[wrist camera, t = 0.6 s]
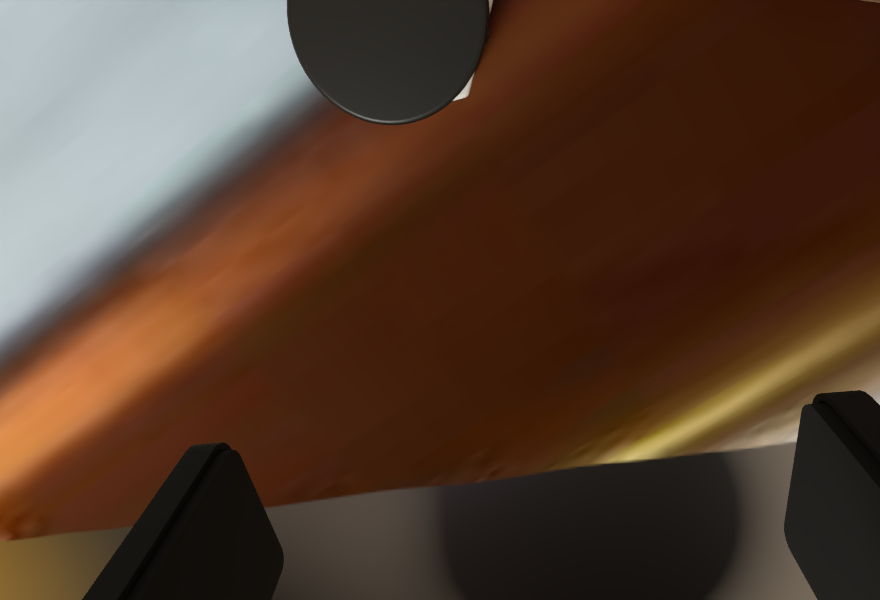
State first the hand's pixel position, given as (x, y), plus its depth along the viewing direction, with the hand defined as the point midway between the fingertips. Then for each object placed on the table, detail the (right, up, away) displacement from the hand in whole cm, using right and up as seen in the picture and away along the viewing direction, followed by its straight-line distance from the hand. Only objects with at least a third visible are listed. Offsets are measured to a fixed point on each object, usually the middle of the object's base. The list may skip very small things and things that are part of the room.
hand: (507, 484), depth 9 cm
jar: (-2, +20, +23) cm, 31 cm away
